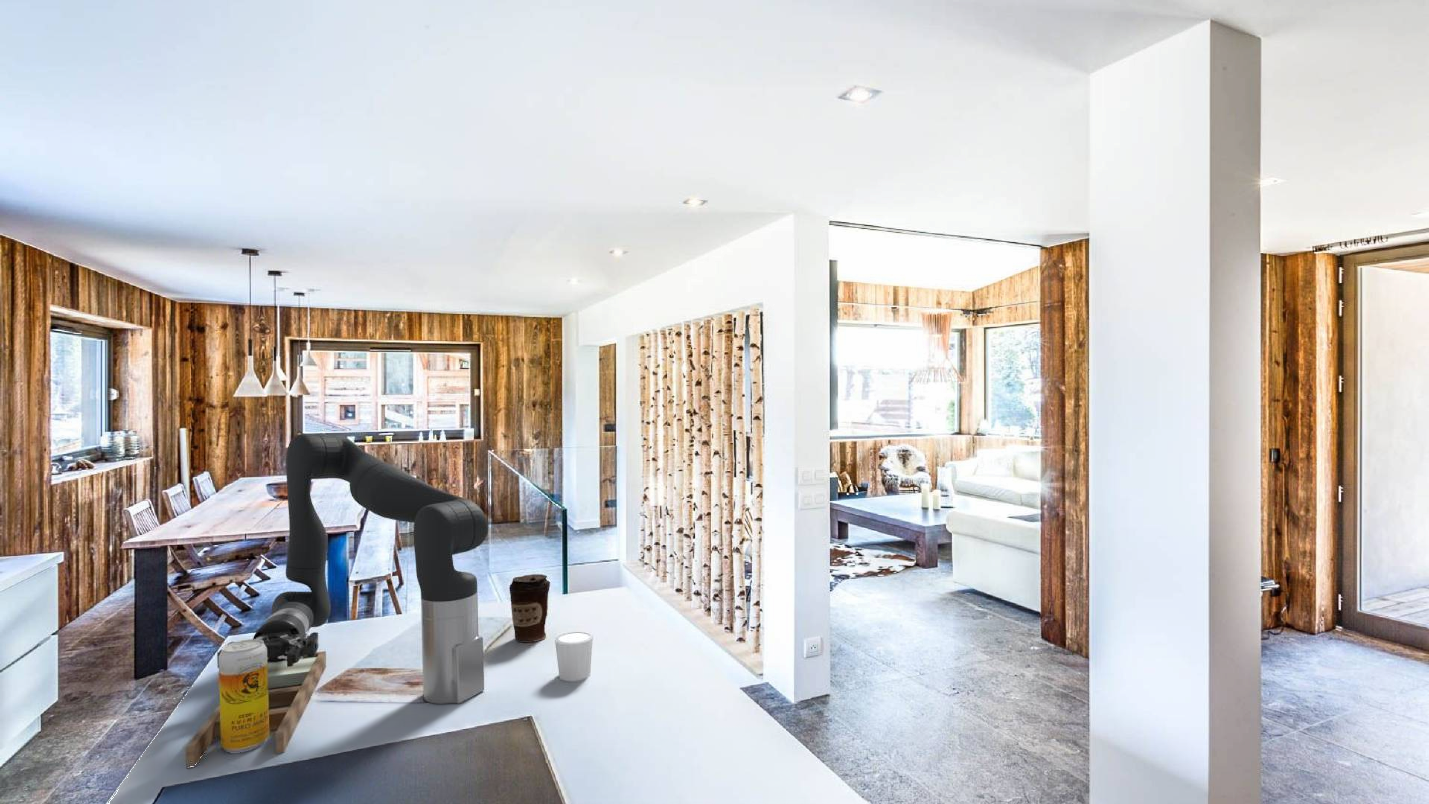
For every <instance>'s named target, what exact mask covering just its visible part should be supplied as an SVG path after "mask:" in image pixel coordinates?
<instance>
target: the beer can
mask: <svg viewBox="0 0 1429 804" xmlns="http://www.w3.org/2000/svg"><path fill="white" fill-rule="evenodd" d="M232 642H233V643H230V642H229V643H230V644H228V643H227V644H228V645H227V644H225V645H224V646H223V647H221V649H222V651H221V653H220V655H219V657H218V659H219V668H218V686H219V687H218V689H219V690H218V691H219V692H218V693H219V704H220V729H221V738H220V747H221V748H223V749H224V750H225V751H226V752H227V753H229V752H230V754H239V753H240V752H241V753H246V752H249V751H253V750H255V749H257V748H260V747H261V746H262V745H264V743H265V742H266V741H267V739H268V738H269V736H270V731H269V702H268V666H267V647H266V646H265V644H264V641H263V640H260V639H253V638H252V639H244V640H238V641H232ZM245 751H246V752H245Z"/></svg>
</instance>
